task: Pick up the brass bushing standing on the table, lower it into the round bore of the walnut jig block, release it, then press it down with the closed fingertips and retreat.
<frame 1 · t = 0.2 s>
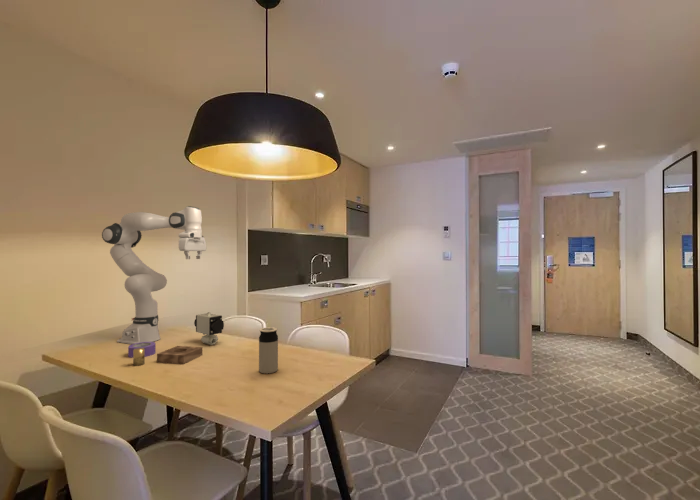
hand: (193, 259, 192), 48 cm above the table, tool pointing down, fingers open, 8 cm apart
jig: (180, 358, 163), on the table
tape roll: (142, 355, 170), on the table
travel mug: (268, 371, 146), on the table
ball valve: (209, 344, 190), on the table
bushing: (138, 364, 154), on the table
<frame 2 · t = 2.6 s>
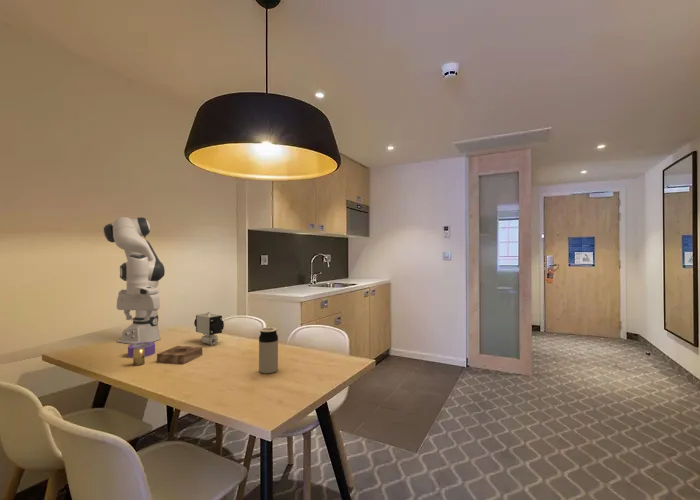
hand: (137, 320, 154), 20 cm above the table, tool pointing down, fingers open, 8 cm apart
nothing on the table moved.
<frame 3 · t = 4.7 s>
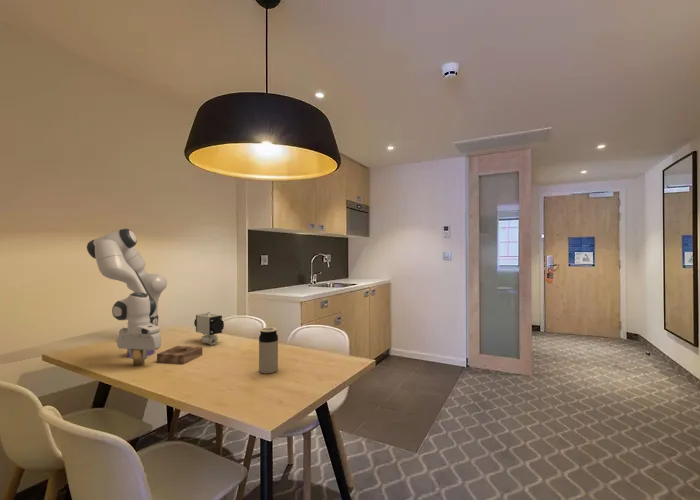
hand: (138, 358, 154), 3 cm above the table, tool pointing down, fingers closed on bushing, 4 cm apart
bushing: (138, 364, 154), on the table, touching gripper
everything else where it was.
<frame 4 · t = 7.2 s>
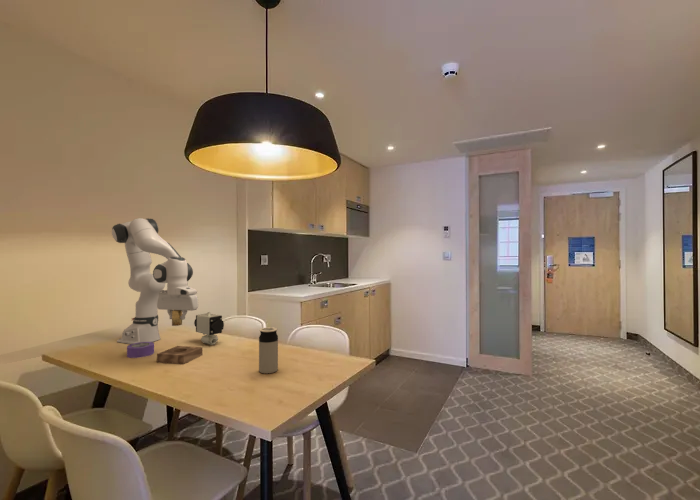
hand: (177, 319, 162), 19 cm above the table, tool pointing down, fingers closed on bushing, 4 cm apart
bushing: (177, 324, 162), point 17 cm above the table, touching gripper
everything else where it was.
when the fingers open (5 cm above the table, at t = 10.0 s): bushing drops 2 cm, resting in jig.
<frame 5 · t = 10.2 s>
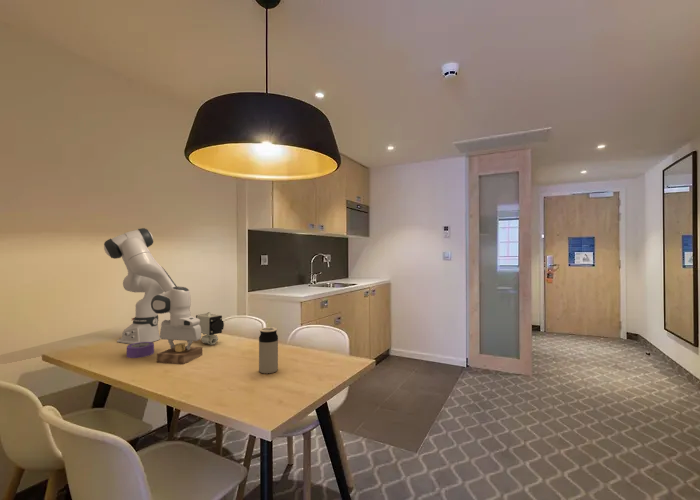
hand: (180, 349, 163), 5 cm above the table, tool pointing down, fingers open, 7 cm apart
bushing: (180, 358, 163), resting in jig
everything else where it was.
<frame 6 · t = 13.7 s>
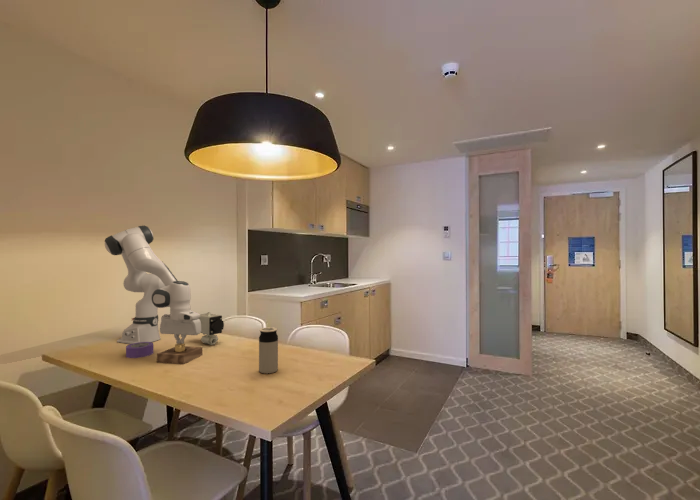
hand: (180, 343, 163), 7 cm above the table, tool pointing down, fingers closed
nothing on the table moved.
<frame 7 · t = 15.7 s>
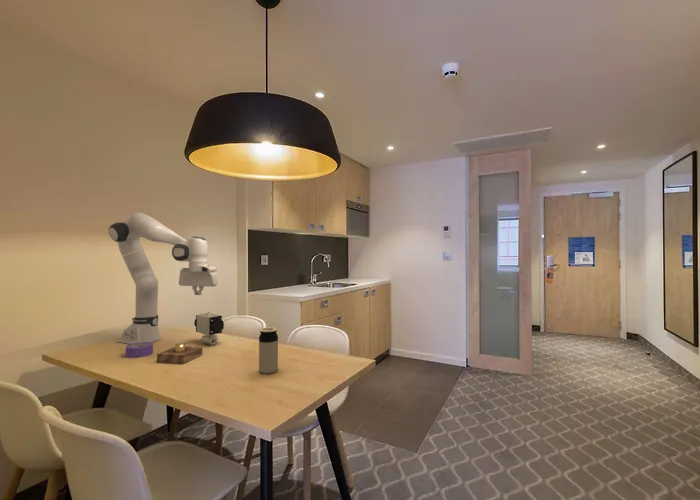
hand: (197, 294, 173), 29 cm above the table, tool pointing down, fingers closed
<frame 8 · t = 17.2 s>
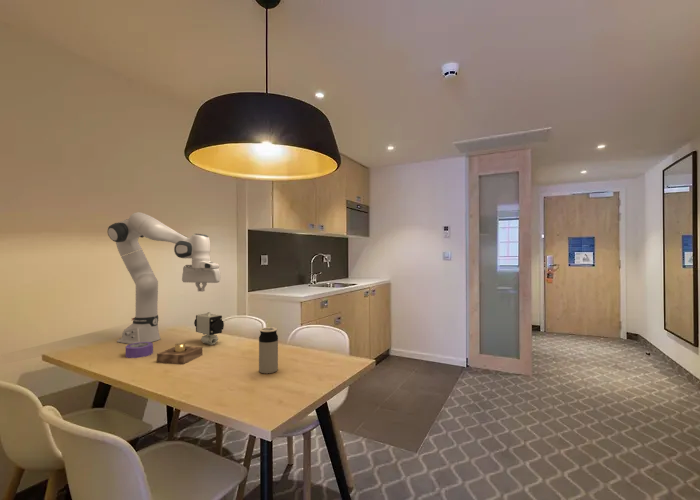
hand: (201, 291, 175), 31 cm above the table, tool pointing down, fingers closed
at the end: bushing 0.1 cm off-centre in the jig, point 0.0 cm above the jig's base; bushing tilted 1°; the gripper is holding nothing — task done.
